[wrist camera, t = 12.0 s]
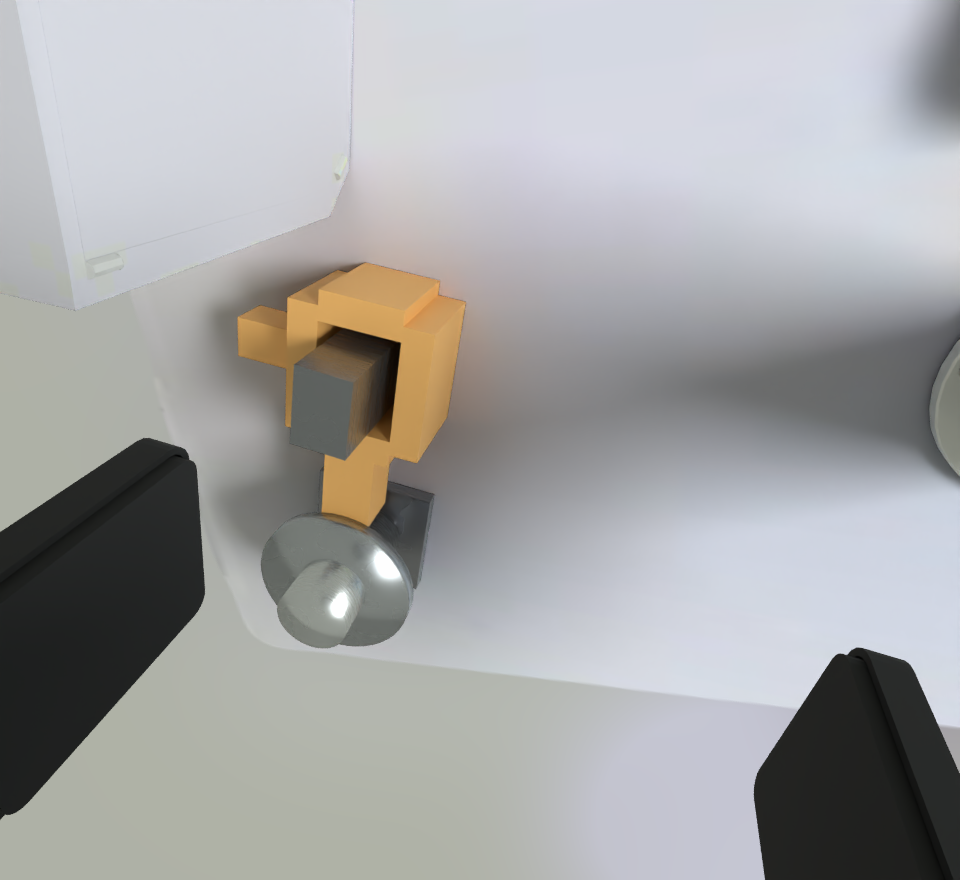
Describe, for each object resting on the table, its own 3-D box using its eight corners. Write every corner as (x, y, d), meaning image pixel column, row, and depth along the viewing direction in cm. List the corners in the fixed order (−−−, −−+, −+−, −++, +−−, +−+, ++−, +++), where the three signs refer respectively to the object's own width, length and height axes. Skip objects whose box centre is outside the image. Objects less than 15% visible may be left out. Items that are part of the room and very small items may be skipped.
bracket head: (468, 287, 37) (437, 319, 31) (435, 488, 44) (405, 541, 39) (275, 240, 38) (216, 263, 33) (274, 442, 45) (225, 486, 40)
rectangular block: (421, 317, 38) (353, 382, 30) (411, 383, 40) (345, 460, 32) (374, 304, 38) (293, 364, 30) (367, 370, 41) (289, 443, 32)
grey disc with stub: (450, 486, 43) (399, 582, 35) (431, 594, 48) (382, 701, 40) (313, 447, 45) (232, 531, 36) (309, 556, 50) (236, 652, 41)
